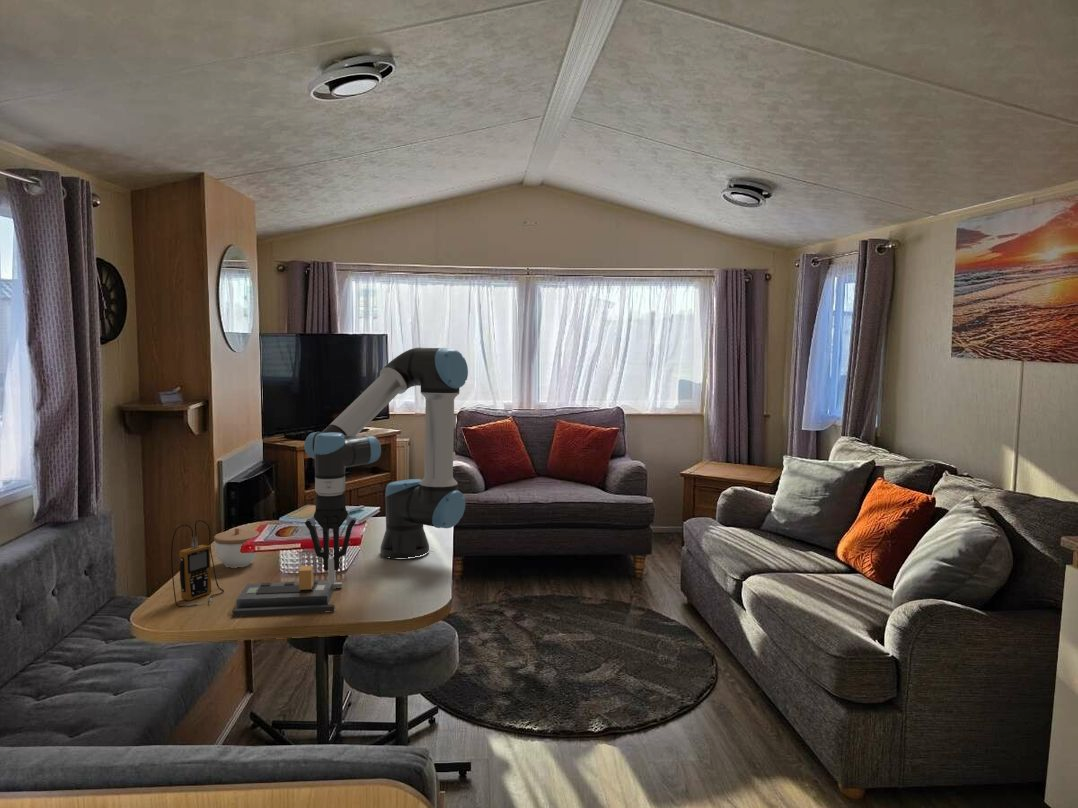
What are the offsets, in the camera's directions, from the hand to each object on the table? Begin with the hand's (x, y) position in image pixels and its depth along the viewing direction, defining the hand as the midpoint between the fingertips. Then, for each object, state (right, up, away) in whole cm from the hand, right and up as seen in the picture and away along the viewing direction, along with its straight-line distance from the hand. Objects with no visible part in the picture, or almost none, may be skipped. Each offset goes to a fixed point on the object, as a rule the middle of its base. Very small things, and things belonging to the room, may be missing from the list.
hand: (331, 582), depth 200 cm
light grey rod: (-12, -4, +7) cm, 14 cm away
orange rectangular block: (-6, -1, -1) cm, 6 cm away
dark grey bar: (-9, -5, -10) cm, 15 cm away
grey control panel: (-11, -5, -1) cm, 12 cm away
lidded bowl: (-36, -2, +29) cm, 47 cm away
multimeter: (-33, -5, 0) cm, 33 cm away
